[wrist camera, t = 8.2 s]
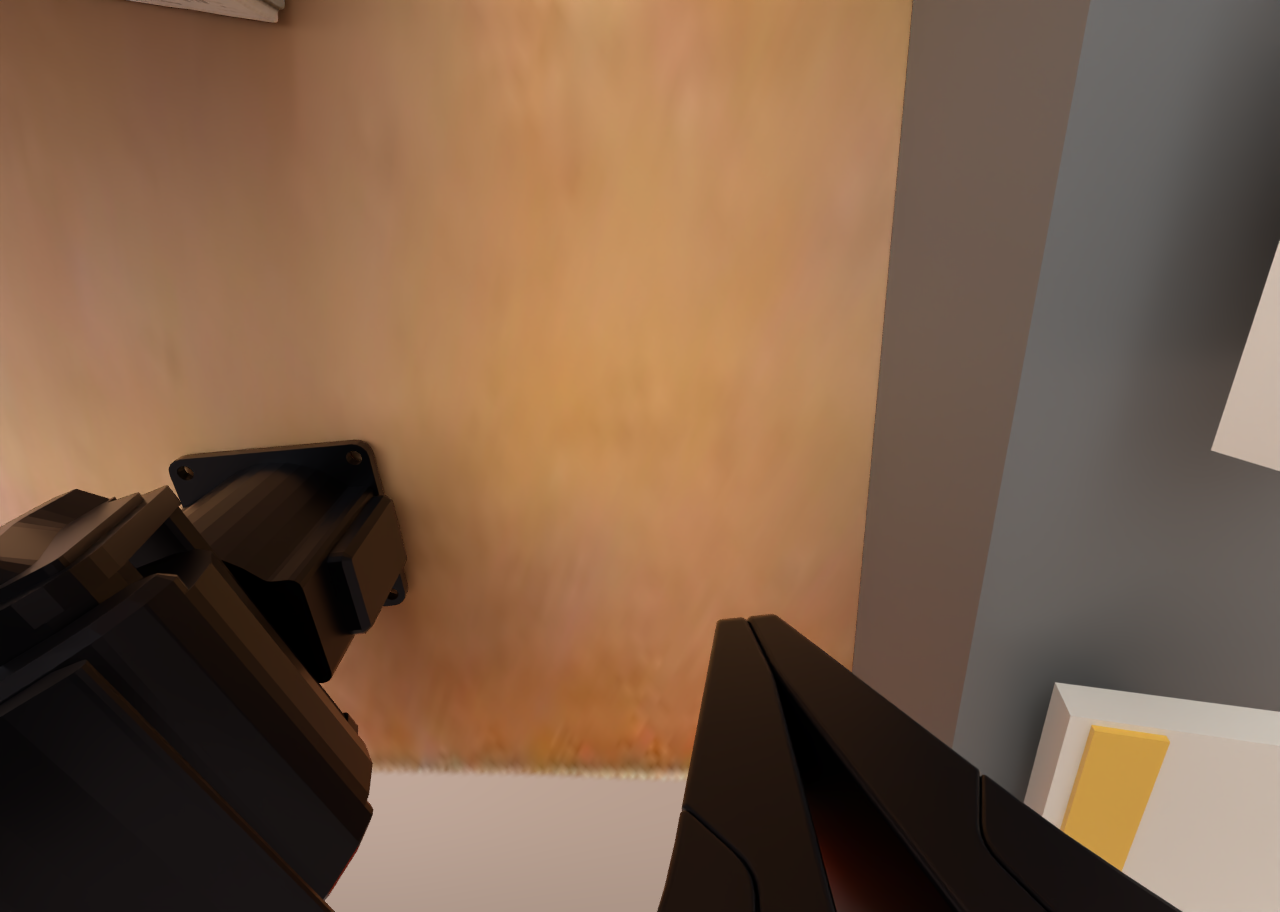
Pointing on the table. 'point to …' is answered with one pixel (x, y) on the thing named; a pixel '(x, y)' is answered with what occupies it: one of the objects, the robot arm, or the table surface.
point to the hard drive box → (229, 7)
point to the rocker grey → (1256, 386)
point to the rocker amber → (1167, 793)
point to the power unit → (1073, 368)
